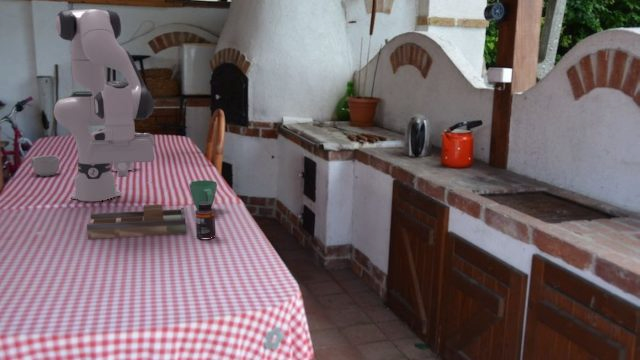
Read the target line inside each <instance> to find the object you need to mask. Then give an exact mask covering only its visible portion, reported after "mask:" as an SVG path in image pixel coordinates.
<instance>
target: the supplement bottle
mask: <svg viewBox="0 0 640 360" xmlns="http://www.w3.org/2000/svg"><path fill="white" fill-rule="evenodd" d="M198 205H199V206H198V207H199V209H198V210H197V209H196V211H195V227H196V228H195V229H196V232H195V233H196V239H199V238H211V237H214V236H215V237H216V216H215V215H216V213H215V212H216V211H215V210H214V209H213V208H212V207H211V202H200V203H199V204H198ZM215 237H214V238H215Z"/></svg>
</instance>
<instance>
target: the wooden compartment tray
mask: <svg viewBox="0 0 640 360" xmlns="http://www.w3.org/2000/svg"><path fill="white" fill-rule="evenodd" d="M186 221H187V219H186V214H185V207H180V209H179V208H178V209H163V220H157V221H144V210H140V211H138V210H137V211H120V212H119V211H117V212H100V213H99V212H97V213H96V212H95V213H90V221H89V223H87V224H86V231H87V232H86V233H87V239H88V240H92V239H93V240H95V239H107V238H108V239H109V238H110V239H111V238H126V237H127V238H129V237H143V236H144V237H145V236H160V235H178V233H179V234H180V233H181V234H187V222H186ZM181 234H180V235H181Z"/></svg>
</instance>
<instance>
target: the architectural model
mask: <svg viewBox="0 0 640 360" xmlns="http://www.w3.org/2000/svg"><path fill="white" fill-rule="evenodd" d="M130 164H131V165H130V168H129V169H128V170H133V171H134V163H130ZM117 167H118V168H119V170H126V168H127V166H126V163H118V166H117ZM114 171H116V169H115V168H114V167H113V172H114Z"/></svg>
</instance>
